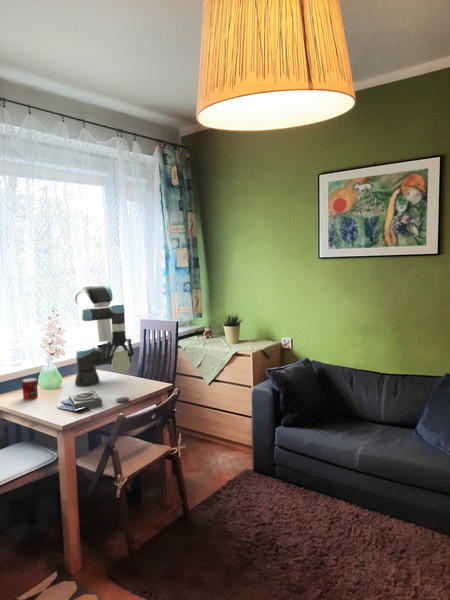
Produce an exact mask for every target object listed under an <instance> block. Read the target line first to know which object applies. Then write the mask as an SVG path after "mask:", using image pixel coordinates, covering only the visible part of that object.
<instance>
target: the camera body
mask: <svg viewBox="0 0 450 600" xmlns="http://www.w3.org/2000/svg"><path fill="white" fill-rule="evenodd" d="M68 400H70V401H71V403H72V404H73V407H74V408H75V409H78V408H82V407H87V408H88V409H87V410H89V409H96V408H101V407H103V399H102V398H101V396H100V395H99V394H98V393H97V392H96V391H95V390H93V389H90V390H89V391H84V392H83V391H82V392H79V393H73V394H69V395H68ZM73 407H72V408H73ZM74 408H73V409H74Z"/></svg>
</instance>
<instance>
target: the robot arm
mask: <svg viewBox="0 0 450 600" xmlns="http://www.w3.org/2000/svg"><path fill="white" fill-rule="evenodd" d="M73 299H74V301H75V303H76V304H77V305H79V307H80V308H81V312H80V313H81V320H82V321H83V322H93V321H96V323H97V324H96V325H97V333H98V341H99V342H98V344H97V345H96V346H97V347H96V346H94V345H91V346H89V345H88V346H83V347H81V348H79V349H78V350H76V354H75V356H76V371H77V373H76V376H75V380H74V385H75V386H77V387H90V386H95V385H97V384H100V377H99V374H98V372H97V367H101V366H108V365H110V370H111V371H113V370H114V365H113V359H112V357H113V352H115V350H119V347H122V349H125V350H126V351H127V350H128V368H129V369H131V364H130V363H131V362H132V356H134V355H135V351H134V349H133V346H132V339H131V338H127V337H126V319H125V318H126V316H125V305H124V304H123V303H114V304H111V302H112V301H113V299H114V297H113V292H112V289H111V287H110V285H108V284H93V285H92V284H91V285H87V284H86V285H83V286H81V287H79V288H78V289H76V290H75V292H74V295H73ZM126 342H127V344H128V347H127V346H126ZM128 348H129V349H128Z"/></svg>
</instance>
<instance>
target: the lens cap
mask: <svg viewBox="0 0 450 600" xmlns="http://www.w3.org/2000/svg"><path fill="white" fill-rule="evenodd" d="M129 402H130V397H128V396H126V397H125V396H124V397H123V396H122V397H118V398H116V404H127V403H129Z"/></svg>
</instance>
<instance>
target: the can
mask: <svg viewBox="0 0 450 600" xmlns="http://www.w3.org/2000/svg"><path fill="white" fill-rule="evenodd" d="M128 351H129V349H128V350H127V351H126V350H125V349H124V348H121V349H119V350H115V352H113V357H112V359H113V365H114V370H112V372H114V373H124V372H128V371H129V369H130V368H128Z"/></svg>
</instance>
